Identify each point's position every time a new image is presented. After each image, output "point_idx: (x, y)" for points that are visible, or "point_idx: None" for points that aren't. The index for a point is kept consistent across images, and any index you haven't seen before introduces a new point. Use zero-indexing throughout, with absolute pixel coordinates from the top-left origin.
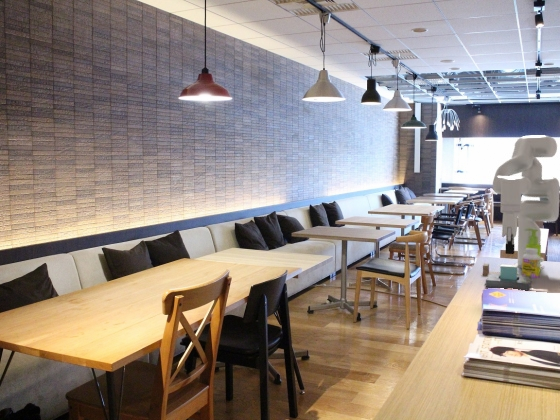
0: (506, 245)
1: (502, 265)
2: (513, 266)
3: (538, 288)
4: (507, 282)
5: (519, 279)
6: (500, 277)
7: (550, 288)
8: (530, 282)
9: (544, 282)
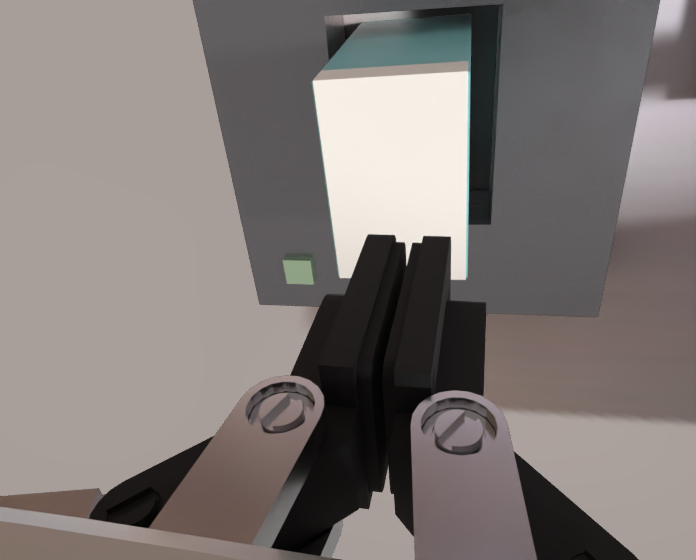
0: (328, 356)
1: (383, 101)
2: None
3: None
4: (224, 131)
5: None
6: (344, 44)
7: None
8: None
9: (658, 362)
